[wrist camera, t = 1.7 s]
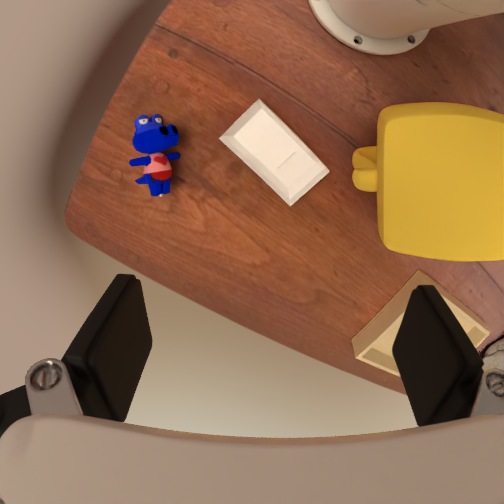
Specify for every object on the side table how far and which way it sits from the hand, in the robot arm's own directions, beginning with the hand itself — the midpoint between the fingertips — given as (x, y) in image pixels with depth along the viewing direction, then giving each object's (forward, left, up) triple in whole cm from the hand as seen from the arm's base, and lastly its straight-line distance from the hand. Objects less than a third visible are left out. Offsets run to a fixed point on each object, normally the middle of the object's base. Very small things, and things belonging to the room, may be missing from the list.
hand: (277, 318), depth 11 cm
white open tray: (-1, +1, -20) cm, 20 cm away
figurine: (-5, -10, -20) cm, 23 cm away
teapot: (+9, +12, -11) cm, 18 cm away
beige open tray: (+31, +2, -23) cm, 39 cm away
